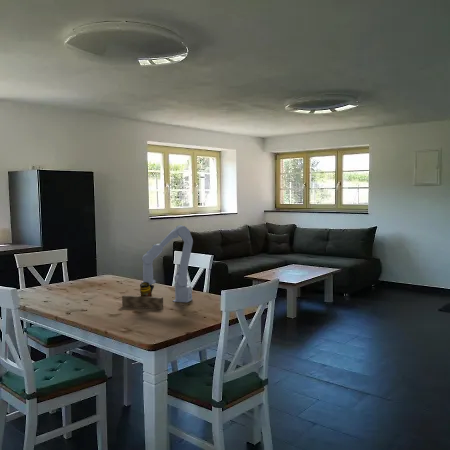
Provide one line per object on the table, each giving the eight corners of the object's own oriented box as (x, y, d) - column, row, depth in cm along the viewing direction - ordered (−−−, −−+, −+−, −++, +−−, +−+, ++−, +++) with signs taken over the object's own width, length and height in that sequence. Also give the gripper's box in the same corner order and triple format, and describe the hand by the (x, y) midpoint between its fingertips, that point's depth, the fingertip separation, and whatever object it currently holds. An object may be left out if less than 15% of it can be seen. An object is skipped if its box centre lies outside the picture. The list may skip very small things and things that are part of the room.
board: (163, 308, 243) (163, 297, 242) (161, 309, 240) (161, 298, 240) (124, 305, 250) (124, 294, 249) (122, 306, 248) (122, 295, 247)
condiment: (150, 306, 248) (148, 287, 244) (136, 305, 249) (133, 286, 245) (155, 299, 254) (152, 280, 250) (141, 299, 256) (138, 280, 252)
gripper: (147, 272, 261) (148, 294, 262) (135, 276, 248) (136, 300, 249) (158, 272, 259) (159, 295, 260) (146, 277, 245) (147, 301, 246)
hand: (148, 298), depth 254 cm, fingers closed, pressing on condiment
